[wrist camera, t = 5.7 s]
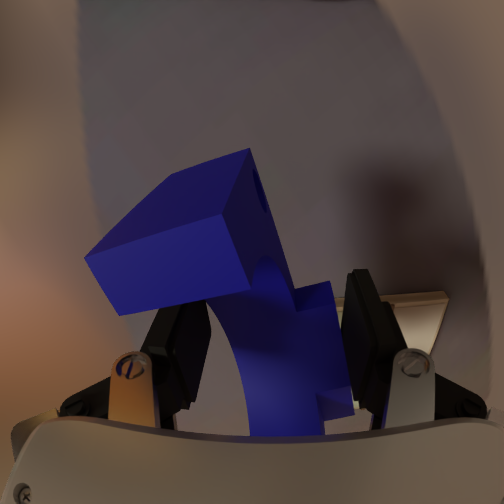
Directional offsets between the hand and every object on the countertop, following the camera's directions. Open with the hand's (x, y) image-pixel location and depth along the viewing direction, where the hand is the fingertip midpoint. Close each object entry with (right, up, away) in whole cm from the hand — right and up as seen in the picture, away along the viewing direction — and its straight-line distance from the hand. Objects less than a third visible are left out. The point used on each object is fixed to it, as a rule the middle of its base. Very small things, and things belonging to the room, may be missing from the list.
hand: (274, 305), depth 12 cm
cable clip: (0, 0, +1) cm, 2 cm away
